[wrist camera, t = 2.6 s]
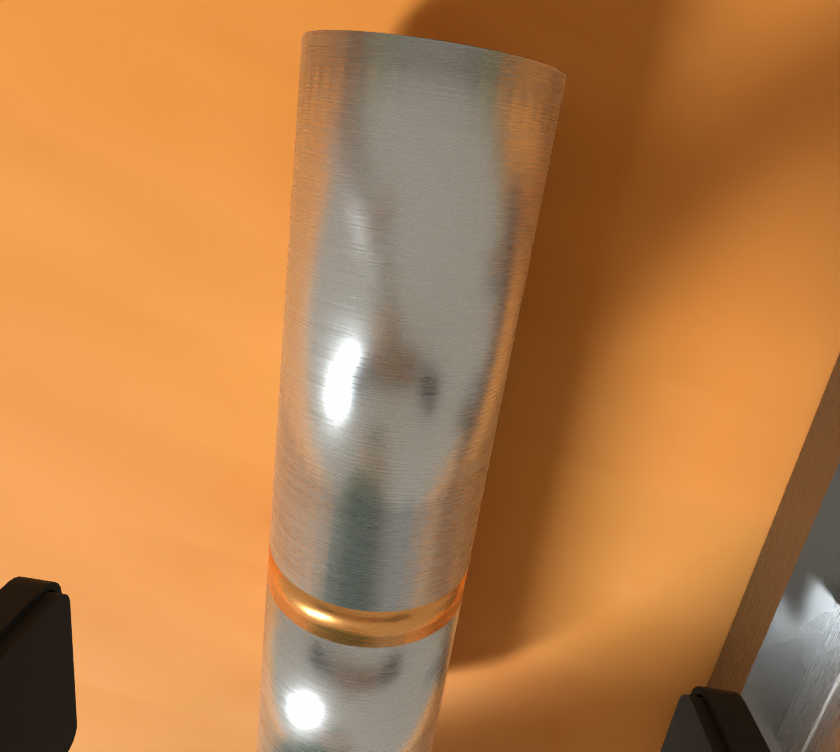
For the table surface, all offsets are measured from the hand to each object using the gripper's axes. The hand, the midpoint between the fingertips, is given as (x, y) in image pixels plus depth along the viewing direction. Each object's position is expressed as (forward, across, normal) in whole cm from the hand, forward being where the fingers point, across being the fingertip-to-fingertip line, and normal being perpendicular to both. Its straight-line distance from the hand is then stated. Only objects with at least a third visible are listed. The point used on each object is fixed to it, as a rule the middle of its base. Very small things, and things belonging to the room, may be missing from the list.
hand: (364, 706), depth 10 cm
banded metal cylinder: (+6, +1, -1) cm, 6 cm away
